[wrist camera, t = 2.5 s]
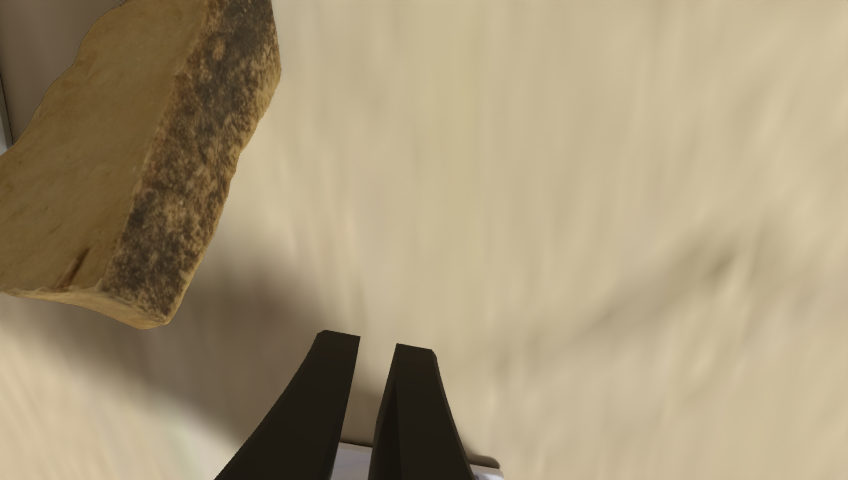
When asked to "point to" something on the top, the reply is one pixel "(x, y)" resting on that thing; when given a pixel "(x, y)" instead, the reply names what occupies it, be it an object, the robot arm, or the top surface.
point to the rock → (135, 156)
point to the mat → (4, 125)
